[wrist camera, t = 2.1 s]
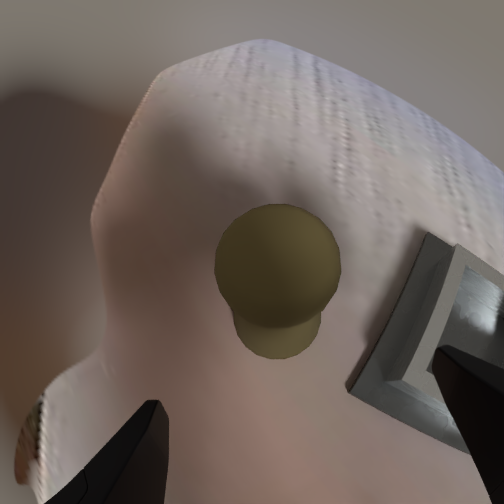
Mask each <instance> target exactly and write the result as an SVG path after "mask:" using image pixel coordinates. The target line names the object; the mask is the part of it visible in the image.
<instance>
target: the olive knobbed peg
mask: <svg viewBox="0 0 504 504" xmlns="http://www.w3.org/2000/svg"><path fill="white" fill-rule="evenodd" d="M340 275H341V263H340V252H339V247H338V245H337V243H336V241H335V238H334V236H333V234H332V232H331V231H330V230H329V228H328V227H327V226H326V225H325V224H324V223H323V222H322V221H321V220H320V219H319V218H318V217H316V216H314V215H313V214H311V213H309V212H308V211H306V210H304V209H302V208H299V207H295V206H291V205H287V204H268V205H264V206H261V207H257V208H254V209H252V210H250V211H248V212H247V213H245V214H243V215H242V216H240V217H239V218H237V219H235V221H234V222H233V223H232V224H231V225H230V226H229V227H228V228H227V230H226V231H225V232H224V233H223V236H222V238H221V240H220V242H219V245H218V247H217V250H216V259H215V276H216V280H217V284H218V288H219V291H220V293H221V294H222V296H223V297H224V299H225V300H226V302H227V303H228V304H229V306H230V307H231V309H232V310H233V311H234V324H235V328H236V331H237V335H238V337H239V338H240V339H241V341H242V342H243V344H244V345H245V346H246V347H247V348H248V349H250V350H251V351H252V352H254V353H255V354H256V355H259V356H262V357H265V358H268V359H286V358H289V357H292V356H295V355H298V354H299V353H301V352H302V351H303V350H305V349H306V348H307V347H309V346H310V344H311V343H312V341H313V340H314V338H315V337H316V336H317V333H318V330H319V326H320V323H321V311H323V310H324V308H325V307H326V305H327V304H328V302H329V301H330V299H331V298H332V296H333V295H334V293H335V292H336V290H337V287H338V283H339V279H340Z"/></svg>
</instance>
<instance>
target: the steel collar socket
mask: <svg viewBox="0 0 504 504" xmlns="http://www.w3.org/2000/svg"><path fill="white" fill-rule="evenodd" d="M445 344H448V345H450V346H453V347H455V348H457V349H459V350H462V351H464V352H466V353H469V354H471V355H473V356H475V357H478V358H480V359H482V360H485V361H487V362H489V363H492V364H494V365H496V366H498V367H501V368H503V369H504V276H503V275H502V274H501V273H499V272H498V271H497V270H495V269H494V268H493V267H491V266H490V265H488V264H487V263H485V262H484V261H483V260H481V259H480V258H478V257H477V256H475V255H474V254H473V253H471V252H470V251H468V250H467V249H465V248H464V247H462V246H461V245H459V244H458V243H457V244H456V245H455V246H454V247H451V246H450V245H448V244H447V243H445V242H444V241H442V240H440V239H439V238H437V237H436V236H434V235H433V234H431V233H429V232H428V233H427V234H426V235H425V238H424V240H423V243H422V245H421V248H420V250H419V253H418V255H417V258H416V260H415V263H414V265H413V268H412V270H411V272H410V275H409V277H408V279H407V282H406V284H405V286H404V288H403V290H402V293H401V295H400V297H399V299H398V301H397V303H396V306H395V308H394V310H393V312H392V314H391V316H390V318H389V320H388V322H387V324H386V326H385V328H384V330H383V332H382V334H381V336H380V338H379V339H378V341H377V343H376V345H375V347H374V349H373V351H372V352H371V354H370V356H369V358H368V360H367V361H366V363H365V365H364V367H363V368H362V370H361V372H360V374H359V375H358V377H357V379H356V380H355V382H354V384H353V385H352V387H351V389H350V390H349V392H348V393H349V394H351V395H353V396H355V397H356V398H358V399H360V400H362V401H364V402H365V403H367V404H369V405H371V406H373V407H375V408H376V409H378V410H380V411H382V412H384V413H386V414H388V415H389V416H391V417H393V418H395V419H397V420H399V421H401V422H403V423H405V424H407V425H409V426H411V427H413V428H415V429H417V430H418V431H420V432H422V433H425V434H427V435H429V436H431V437H433V438H435V439H437V440H439V441H441V442H443V443H445V444H447V445H449V446H452V447H454V448H456V449H458V450H460V451H462V452H465V453H467V454H469V455H471V454H470V452H469V450H468V448H467V446H466V444H465V442H464V440H463V438H462V436H461V434H460V432H459V430H458V428H457V426H456V424H455V422H454V420H453V418H452V416H451V414H450V412H449V410H448V408H447V406H446V404H445V402H444V399H443V397H442V394H441V392H440V389H439V387H438V384H437V382H436V380H435V377H434V375H433V372H432V362H433V357H434V353H435V350H436V348H437V347H439V346H442V345H445Z"/></svg>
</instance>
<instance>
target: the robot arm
mask: <svg viewBox="0 0 504 504" xmlns="http://www.w3.org/2000/svg"><path fill="white" fill-rule="evenodd" d="M432 372H433V375H434V377H435V380H436V382H437V384H438V387H439V389H440V392H441V394H442V397H443V399H444V402H445V404H446V406H447V408H448V410H449V412H450V414H451V416H452V418H453V420H454V422H455V424H456V426H457V428H458V430H459V432H460V434H461V436H462V438H463V440H464V442H465V444H466V446H467V448H468V450H469V452H470V454H471V456H472V458H473V461H474V463H475V465H476V467H477V469H478V471H479V474H480V476H481V478H482V480H483V483H484V485H485V487H486V490H487V492H488V495H490V496H489V497H490V500H491V502H492V504H504V369H503V368H501V367H498V366H496V365H494V364H492V363H489V362H487V361H485V360H482V359H480V358H478V357H475V356H473V355H471V354H469V353H466V352H464V351H462V350H459V349H457V348H455V347H453V346H450V345H448V344H445V345H442V346H439V347H437V348H436V350H435V353H434V357H433V362H432ZM168 462H169V418H168V415H167V413H166V411H165V409H164V407H163V405H162V403H161V402H160V401H159V400H147V401H145V402H144V403H143V405H142V406H141V407H140V408H139V409H138V410H137V411H136V412H135V413H134V414H133V415H132V417H131V418H130V419H129V420H128V421H127V422H126V423H125V424H124V425H123V426H122V427H121V428H120V429H119V431H118V432H117V433H116V434H115V435H114V436H113V437H112V438H111V439H110V440H109V441H108V442H107V443H106V445H105V446H104V447H103V448H102V449H101V450H100V451H99V452H98V453H97V454H96V455H95V456H94V457H93V458H92V459H91V460H90V462H89V463H88V464H87V465H86V466H85V467H84V469H82V470H81V471H80V472H79V473H78V474H77V475H76V476H75V477H74V478H73V479H72V480H71V481H70V482H69V483H68V484H67V485H66V486H65V487H64V488H62V489H61V490H60V491H59V492H58V493H57V494H55V495H54V496H53V497H52V498H51V499H49V500H48V501H47V502H46V503H44V504H164V497H165V488H166V480H167V472H168Z"/></svg>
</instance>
